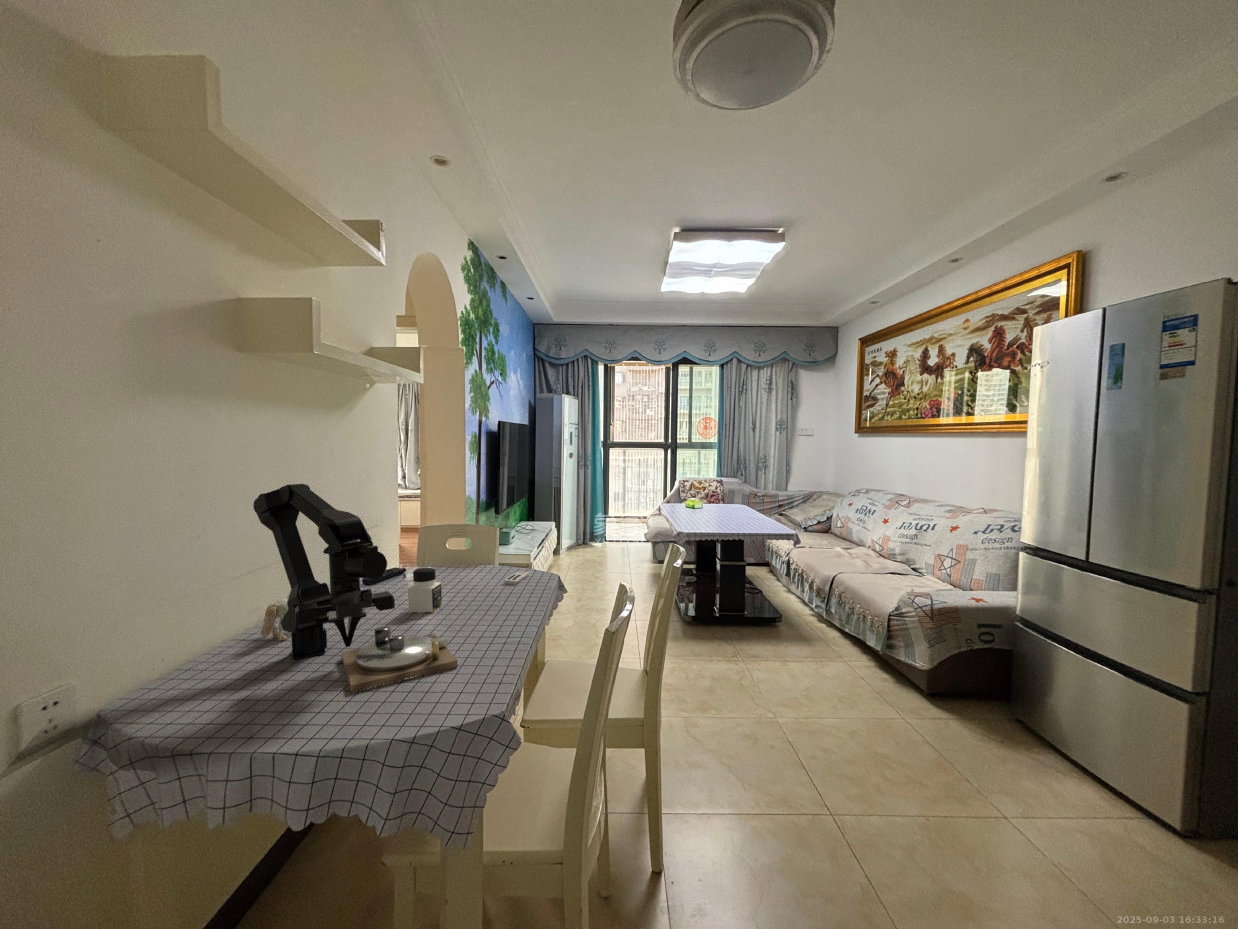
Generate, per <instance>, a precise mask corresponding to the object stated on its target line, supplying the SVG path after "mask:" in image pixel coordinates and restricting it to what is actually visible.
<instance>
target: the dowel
mask: <svg viewBox="0 0 1238 929" xmlns="http://www.w3.org/2000/svg"><path fill="white" fill-rule="evenodd" d="M438 659H439V642H432V660H438Z"/></svg>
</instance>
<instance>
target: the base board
mask: <svg viewBox="0 0 1238 929" xmlns="http://www.w3.org/2000/svg"><path fill="white" fill-rule="evenodd" d="M423 636H427V637H431V638H433V639H437V638H439V637H438V636H437V635H436V634H435V633H430V634H425V635H423ZM362 648H363V647H362ZM362 648H358V649H357V648H355V649H351V650H347V651H342V652H340V654H341V656H340V657H341V663H342V666H343V669H344V673H345V677H346V680H347V682H349V683H348V686H349V685H350V686H349V689H350V692H352V693H351V694H354V693H353V692H355V693H357V692H356V691H359V690H363V689H367V688H370V687H374V686H379V687H381V686H380V685H383V684H387V683H391V682H396V681H399V680H403V679H405V678H410V677H415V676H420V675H424V674H428V675H430V674H429V673H432V674H434V673H433V672H436V673H438V672H437V671H440V672H442V671H441V670H445V671H448V670H447V669H449V670H451V669H450V668H453V669H456V668H455V667H457V668H459V667H458V666H459V665H458V659H457V658H456V657H455V656H454V654H453V653H452V652H451V651H450V650H449V649H448V648H447V646H445V647H441V648H439V659H438V660H432V657H431V658H430V659H428V660H426V661H424V662H422V663H419V664H417V665H414V666H410V667H407V668H402V669H397V670H389V671H369V670H364V669H361V668H359V667H358V666H357V664H356V654H357V652H358V651H359V650H361V649H362ZM424 676H425V675H424ZM420 677H421V676H420ZM396 683H397V682H396ZM383 686H384V685H383ZM367 690H368V689H367ZM363 691H364V690H363ZM359 692H360V691H359Z"/></svg>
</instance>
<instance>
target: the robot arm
mask: <svg viewBox="0 0 1238 929" xmlns="http://www.w3.org/2000/svg"><path fill="white" fill-rule="evenodd" d="M252 506H253V510H254V512H255V514H256V516H257V517H258V519H259V521H260V523H261V525H264V526H265V527H266V528H267V529H268V530H270V531H271V533H272V534H273V537H274V541H275V543H276V546H277V550H278V552H279V555H280V559H281V561H282V564H283V568H284V571H285V574H286V576H287V579H288V582H289V585H290V592H289V595H288V596H289V598H288V601H287V605H288V611H287V612H286V614H285V615H284V617H283V619H282V620H281V625H282V632H287V633H290V634H291V650H290V651H291V660H298V659H304V658H308V657H313V656H318V655H322V654H326V649H327V648H328V641H327V640H328V639H327V638H328V637H327V629H326V627H324V624H327V623H328V624H334V625H335V626H336V628H337V630H338V631H339V633H340V635H341V636H340V637H341V639H342V641H343V643H344V645H345V647H346V648H348V647H351V646H352V642H353V638H354V636H355V632H356V629H357V626H358V625H359V623H360V621H361V619H362V618H366V617H367V616H368V615H367V613H366V610H367V609H368V608H375V609H377V610H378V611H387V610H391V609H395V608H396V605H395V604H396V603H395V597H394V595H393V594H392V593H391V592H390V591H388V590H387V591H381V592H374V593H373V592H372V589H371V588H369V589H361V579H364V580H365V579H366V580H377V579H379V578H381V577H382V576H383V575H384V574H385V572H386V570H387V568H388V560H387V557H386V556H385V555H384V554H383V552H381V551H379V546H378V545H374V543H373V541H372V537H371V535H370V534H369V533H368V530H367V529H366V527H365V525H364V523H363V521H362V519H361V518H360V517H359V516H357V515H355V514H354V513H351V512H349V511H345V510H339V509H336V508H335V507H334V506H332V505H331V503H328V502H327V501H326V500H324V499H323V498H322V497H320V496H319V495H318V494H316V492H314V491H313V490H311V488H310V486H309V485H308V484H305V483H291V484H286V485H284V486H281V487H280V488H278V489H275V490H272V491H269V492H268V491H267V492H266V493H260V494H259V495H258V496H257V497H256V498H255V499H254V502H253V505H252ZM300 513H301V514H302V515H304V517H306V518H307V519H309V521H311V522H312V523H313V524H315V525H316V526H317V528H318V530H317V535H318V536H319V537H320V538H321V539H322V540H323V541H324V542H325V544H326V545H328V546H326V547H325V548H324V549H323V551H322V552H323V555H326V554H327V555H328V566H329V570H328V571H329V585H328V584H327V583H326V582H322V583H320V582H319V581H318V580H316V578H315V575H314V572H313V569H312V568H311V563H310V560H309V558H308V554H307V552H306V549H305V546H304V544H303V541H302V538H301V535H300V532H299V529H298V525H297V521H298V518H299V515H300ZM345 618H348V621H347V628H346V623H345Z"/></svg>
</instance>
